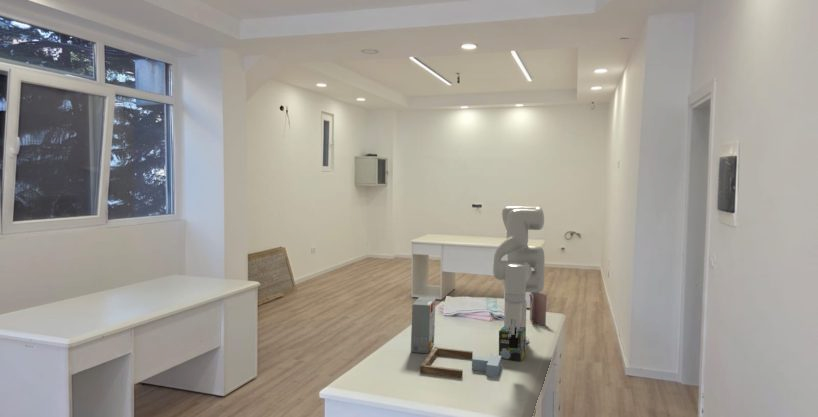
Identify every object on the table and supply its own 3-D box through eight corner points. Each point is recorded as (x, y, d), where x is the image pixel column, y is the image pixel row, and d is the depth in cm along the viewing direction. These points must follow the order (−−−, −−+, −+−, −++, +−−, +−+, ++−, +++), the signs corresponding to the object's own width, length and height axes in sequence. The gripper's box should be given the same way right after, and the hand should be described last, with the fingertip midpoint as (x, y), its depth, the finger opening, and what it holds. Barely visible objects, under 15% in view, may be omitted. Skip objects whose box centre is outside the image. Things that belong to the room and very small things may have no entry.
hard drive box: (428, 354, 215) (429, 305, 214) (410, 352, 216) (411, 304, 215) (434, 342, 230) (435, 297, 229) (417, 341, 231) (418, 296, 230)
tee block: (475, 362, 206) (475, 352, 206) (501, 365, 203) (501, 355, 203) (469, 373, 194) (470, 362, 194) (497, 376, 191) (497, 366, 191)
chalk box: (525, 355, 216) (527, 319, 215) (520, 362, 208) (521, 324, 207) (503, 351, 220) (504, 316, 219) (497, 358, 211) (498, 321, 211)
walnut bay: (434, 353, 216) (434, 347, 216) (472, 357, 212) (472, 351, 211) (420, 372, 194) (420, 366, 194) (461, 377, 190) (461, 371, 189)
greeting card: (527, 319, 271) (528, 290, 270) (542, 319, 271) (543, 291, 270) (530, 325, 260) (531, 295, 259) (546, 326, 259) (547, 295, 258)
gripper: (506, 293, 202) (505, 341, 203) (502, 301, 188) (500, 352, 189) (526, 295, 200) (525, 343, 201) (523, 302, 186) (522, 354, 186)
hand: (513, 347), depth 195 cm, fingers closed
